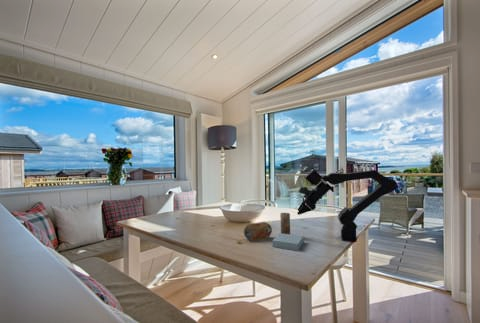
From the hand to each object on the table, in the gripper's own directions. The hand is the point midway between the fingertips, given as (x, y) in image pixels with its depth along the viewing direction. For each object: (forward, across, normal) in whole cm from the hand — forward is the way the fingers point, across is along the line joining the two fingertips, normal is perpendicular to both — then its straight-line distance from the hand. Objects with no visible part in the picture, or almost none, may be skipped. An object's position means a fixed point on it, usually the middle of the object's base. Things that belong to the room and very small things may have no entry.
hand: (297, 212), depth 124 cm
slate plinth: (+12, +13, +6) cm, 19 cm away
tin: (+24, +7, -5) cm, 26 cm away
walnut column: (+14, 0, +4) cm, 15 cm away
